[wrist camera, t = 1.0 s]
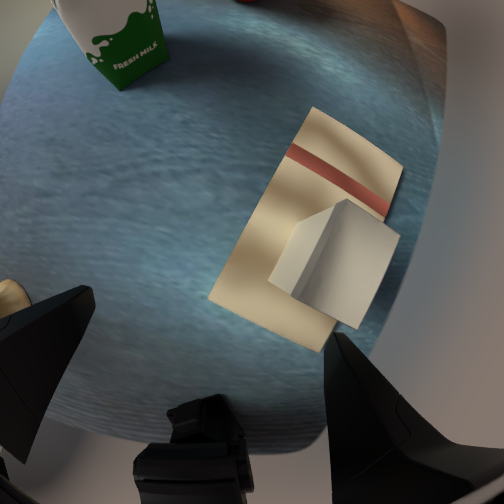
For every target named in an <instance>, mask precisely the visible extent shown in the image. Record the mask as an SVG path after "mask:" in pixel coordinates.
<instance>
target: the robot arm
mask: <svg viewBox="0 0 504 504" xmlns="http://www.w3.org/2000/svg"><path fill="white" fill-rule="evenodd" d="M94 311H95V299H94V294H93V290H92V288H91V287H89V286H86V285H80V286H78V287H75V288H73V289H70V290H68V291H65V292H63V293H60V294H58V295H55V296H53V297H51V298H48V299H46V300H43V301H41V302H38V303H36V304H34V305H31V306H29V307H26V308H24V309H22V310H19V311H17V312H15V313H13V314H10V315H8V316H5V317H3V318H0V504H40V503H38V502H37V501H36V500H34V499H33V498H31V497H29V496H28V495H27V494H25V493H24V492H23V491H22V490H20V489H19V488H18V487H16V486H15V485H14V484H12V483H11V482H10V480H9V477H8V474H7V470H6V467H5V463H4V460H3V458H2V457H1V454H2V452H3V450H4V449H5V450H6V451H7V452H8V453H10V454H11V455H12V456H13V457H15V458H16V459H17V460H19V461H20V462H21V463H23V464H24V465H25V463H26V461H27V458H28V455H29V452H30V450H31V446H32V444H33V442H34V439H35V436H36V434H37V431H38V429H39V426H40V424H41V421H42V419H43V416H44V414H45V412H46V410H47V407H48V405H49V403H50V401H51V399H52V396H53V394H54V392H55V390H56V388H57V386H58V384H59V382H60V380H61V378H62V376H63V374H64V372H65V370H66V368H67V366H68V364H69V362H70V360H71V358H72V356H73V354H74V353H75V351H76V349H77V347H78V345H79V343H80V341H81V339H82V337H83V335H84V333H85V331H86V328H87V326H88V324H89V322H90V319H91V317H92V315H93V313H94ZM324 396H325V405H326V415H327V426H328V436H329V450H330V464H331V481H332V504H504V449H499V448H486V447H476V446H467V445H460V444H456V443H454V442H451V441H450V440H448V439H447V438H445V437H444V436H443V435H442V434H441V433H440V432H439V431H438V430H436V429H435V428H434V427H433V426H432V425H431V424H430V423H429V422H428V421H426V420H425V419H424V418H423V417H422V416H421V415H420V414H419V413H418V412H417V411H416V410H415V409H414V408H413V407H412V406H411V405H410V404H409V403H408V402H407V401H406V400H405V399H404V398H403V396H402V395H401V394H400V395H399V392H398V391H397V390H396V389H395V388H394V387H393V386H392V385H391V383H390V382H388V380H387V379H386V378H385V377H384V376H383V375H382V374H381V373H380V371H379V370H378V369H377V368H376V367H375V366H374V365H373V364H372V363H371V362H370V361H369V359H368V358H367V357H366V356H365V355H364V354H363V353H362V352H361V351H360V350H359V349H358V348H357V347H356V345H355V344H354V343H353V342H352V341H351V340H350V339H349V338H348V337H347V336H346V335H345V334H344V333H342V332H332V333H331V335H330V338H329V340H328V342H327V344H326V347H325V350H324ZM216 398H219V399H220V400H216ZM169 413H172V414H173V415H170V414H169ZM166 415H167V417H168V418H169V420H170V421H171V423H172V424H173V425H172V428H173V432H172V436H171V439H170V443H150V444H149V445H148V446H147V448H146V449H144V450H143V451H142V452H141V453H140V454H139V455H138V456H137V457H136V458H135V460H134V462H133V464H134V465H133V476H134V481H135V484H136V486H137V488H138V490H139V494H140V499H141V504H247V499H246V493H252V492H254V482H253V476H252V470H251V465H250V460H249V455H248V450H247V445H246V440H245V439H244V438H245V434H244V432H243V430H242V429H241V427H240V425H239V424H238V422H237V421H236V419H235V417H234V416H233V414H232V413H231V411H230V409H229V408H228V406H227V404H226V403H225V401H224V399H223V398H222V396H221V395H219V394H216V395H213V396H210V397H207V398H204V399H196V400H193V401H190V402H187V403H184V404H181V405H179V406H178V407H177V408H173V409H170V410H168V411H167V413H166ZM238 435H242V436H238Z"/></svg>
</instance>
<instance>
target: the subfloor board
mask: <svg viewBox="0 0 504 504" xmlns="http://www.w3.org/2000/svg"><path fill="white" fill-rule="evenodd" d="M402 169H403V166H402V165H400V164H399V163H398V162H396V161H395V160H394V159H392V158H391V157H390V156H388V155H387V154H386V153H384V152H383V151H382V150H380V149H379V148H377V147H376V146H374V145H373V144H372V143H370V142H369V141H367V140H366V139H364V138H363V137H361V136H360V135H358V134H357V133H355V132H354V131H352V130H351V129H349V128H348V127H346V126H344V125H343V124H341V123H340V122H338V121H336V120H335V119H333V118H331V117H330V116H328V115H326V114H324V113H323V112H321V111H319V110H317V109H316V108H314V107H312V109H311V111H310V112H309V114H308V116H307V118H306V119H305V121H304V123H303V125H302V126H301V128H300V130H299V132H298V133H297V135H296V137H295V139H294V140H293V142H292V144H291V146H290V148H289V149H288V151H287V153H286V155H285V156H284V158H283V160H282V162H281V164H280V165H279V167H278V169H277V171H276V173H275V174H274V176H273V178H272V180H271V182H270V183H269V185H268V187H267V189H266V191H265V192H264V194H263V196H262V198H261V200H260V201H259V203H258V205H257V207H256V209H255V211H254V212H253V214H252V216H251V218H250V220H249V222H248V223H247V225H246V227H245V229H244V231H243V233H242V235H241V236H240V238H239V240H238V242H237V244H236V246H235V248H234V249H233V251H232V253H231V255H230V257H229V259H228V261H227V262H226V264H225V266H224V268H223V270H222V272H221V274H220V276H219V278H218V279H217V281H216V283H215V285H214V287H213V289H212V291H211V293H210V295H209V296H208V299H209V300H210V301H212V302H214V303H216V304H218V305H220V306H222V307H224V308H226V309H228V310H230V311H232V312H234V313H236V314H238V315H240V316H241V317H243V318H245V319H247V320H249V321H252V322H254V323H256V324H258V325H260V326H262V327H264V328H266V329H268V330H270V331H272V332H274V333H276V334H278V335H281V336H283V337H285V338H287V339H289V340H291V341H293V342H296V343H298V344H300V345H302V346H304V347H307V348H309V349H311V350H313V351H316V352H318V353H319V352H320V350H321V349H322V347H323V345H324V343H325V342H326V340H327V338H328V336H329V334H330V333H331V331H332V329H333V327H334V325H335V324H336V322H337V320H335V319H333V318H331V317H329V316H327V315H325V314H323V313H321V312H319V311H317V310H315V309H313V308H311V307H309V306H307V305H305V304H303V303H302V302H300V301H298V300H296V299H294V298H293V297H291V296H290V294H288V293H287V292H285V291H283V290H282V289H280V288H279V287H277V286H275V285H274V284H272V283H271V282H269V281H268V279H269V277H270V275H271V273H272V271H273V270H274V268H275V266H276V264H277V262H278V260H279V258H280V256H281V254H282V252H283V251H284V249H285V247H286V245H287V243H288V241H289V239H290V237H291V235H292V233H293V231H294V229H295V227H296V225H297V223H298V222H300V221H302V220H304V219H306V218H309V217H311V216H313V215H315V214H317V213H319V212H322V211H324V210H326V209H328V208H330V207H332V206H334V205H336V203H338V202H340V201H342V200H344V199H349V200H350V201H352V202H353V203H355V204H356V205H358V206H359V207H361V208H362V209H364V210H365V211H367V212H368V213H370V214H371V215H373V216H374V217H376V218H377V219H379V220H380V221H381V222H383V221H384V219H385V217H386V215H387V212H388V210H389V207H390V203H391V201H392V198H393V195H394V192H395V190H396V187H397V184H398V181H399V178H400V175H401V172H402Z"/></svg>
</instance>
